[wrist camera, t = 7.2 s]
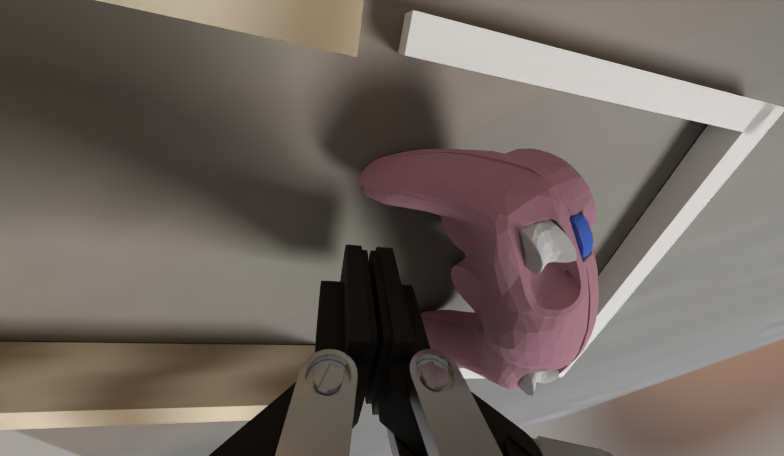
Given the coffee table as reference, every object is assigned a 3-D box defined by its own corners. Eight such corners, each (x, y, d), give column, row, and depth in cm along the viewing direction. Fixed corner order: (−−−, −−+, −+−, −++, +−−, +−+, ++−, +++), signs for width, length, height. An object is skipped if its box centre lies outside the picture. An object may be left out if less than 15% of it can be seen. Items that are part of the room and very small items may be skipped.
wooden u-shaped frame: (359, 1, 8) (365, -14, 6) (319, 359, 16) (314, 417, 14) (-574, -241, 5) (-1544, -532, 2) (-41, 358, 13) (-133, 435, 11)
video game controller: (465, 289, 17) (596, 380, 12) (402, 337, 15) (521, 469, 10) (441, 114, 12) (664, 139, 6) (340, 161, 10) (526, 246, 5)
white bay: (747, 101, 11) (786, 108, 10) (551, 359, 19) (562, 377, 18) (405, 13, 8) (413, 9, 7) (343, 359, 17) (342, 380, 16)
